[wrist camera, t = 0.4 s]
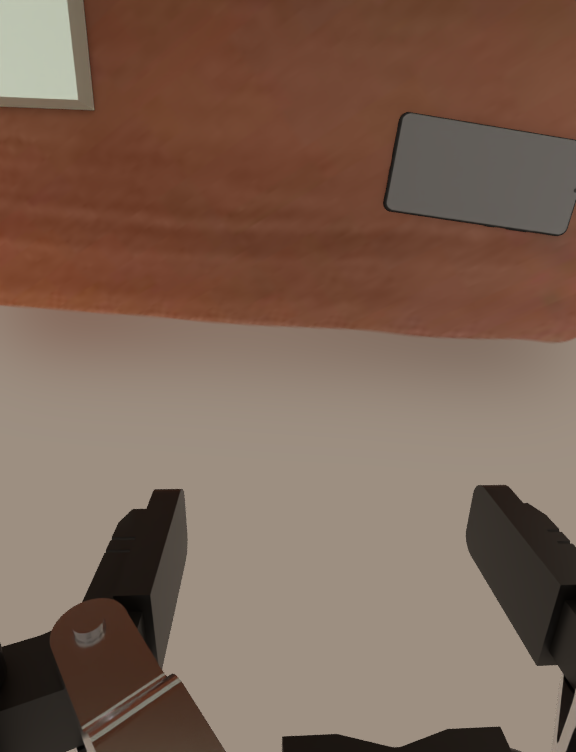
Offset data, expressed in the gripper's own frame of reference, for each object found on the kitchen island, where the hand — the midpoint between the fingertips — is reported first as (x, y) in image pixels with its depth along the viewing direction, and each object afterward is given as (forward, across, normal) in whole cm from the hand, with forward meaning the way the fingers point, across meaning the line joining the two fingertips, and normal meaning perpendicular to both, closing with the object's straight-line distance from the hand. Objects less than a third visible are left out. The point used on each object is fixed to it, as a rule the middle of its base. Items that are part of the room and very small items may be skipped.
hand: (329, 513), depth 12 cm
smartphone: (+28, -15, -10) cm, 33 cm away
